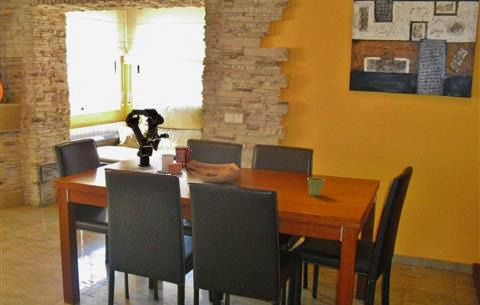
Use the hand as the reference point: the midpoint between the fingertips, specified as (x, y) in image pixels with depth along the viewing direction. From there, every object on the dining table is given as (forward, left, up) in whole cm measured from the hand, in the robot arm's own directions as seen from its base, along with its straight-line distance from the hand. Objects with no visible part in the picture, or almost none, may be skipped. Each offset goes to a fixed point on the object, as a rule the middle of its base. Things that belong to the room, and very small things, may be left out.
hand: (156, 151), depth 317 cm
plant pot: (+110, +14, -12) cm, 112 cm away
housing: (+16, -3, -12) cm, 20 cm away
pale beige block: (+13, -2, -10) cm, 17 cm away
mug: (+6, +19, -12) cm, 24 cm away
